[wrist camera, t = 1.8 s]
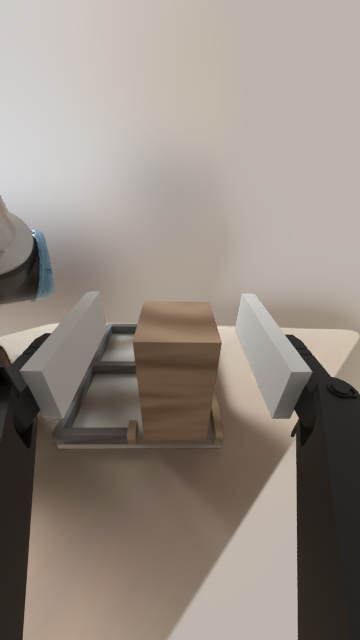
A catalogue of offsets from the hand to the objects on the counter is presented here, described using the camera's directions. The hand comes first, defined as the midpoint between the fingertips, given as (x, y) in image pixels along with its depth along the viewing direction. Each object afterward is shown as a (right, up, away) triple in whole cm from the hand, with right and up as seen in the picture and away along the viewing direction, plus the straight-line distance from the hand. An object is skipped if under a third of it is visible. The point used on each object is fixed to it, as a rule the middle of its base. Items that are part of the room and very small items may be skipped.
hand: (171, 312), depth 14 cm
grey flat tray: (-5, -11, +25) cm, 27 cm away
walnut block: (0, -14, +17) cm, 22 cm away
